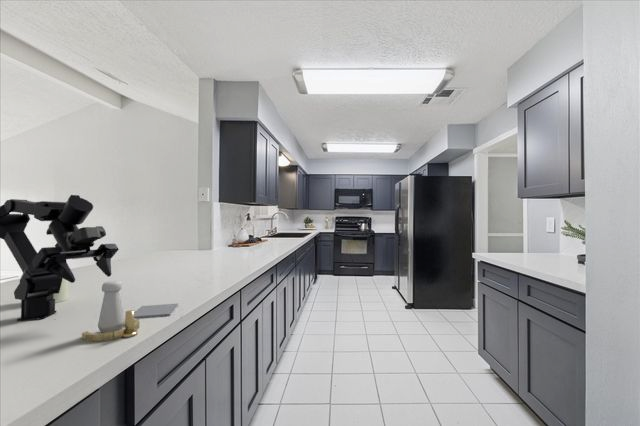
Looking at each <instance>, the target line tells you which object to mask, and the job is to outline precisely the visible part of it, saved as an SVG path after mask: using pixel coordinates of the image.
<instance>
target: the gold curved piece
mask: <svg viewBox="0 0 640 426" xmlns="http://www.w3.org/2000/svg"><path fill="white" fill-rule="evenodd" d="M134 312H135V310H133V309H130V310H126V311H125V314H124V316H125V323H124V325H125V327H123V328H122V329H121V330H117V331H113V332H106V333H101V332H89V331H83V332H81V340H83V341H84V342H91V343H92V342H106V341H111V340H116V339H119V338H123V339H128V338H132V337H135V336H137V335H138V330H139V329H140V320H139V319H140V318H134Z"/></svg>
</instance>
